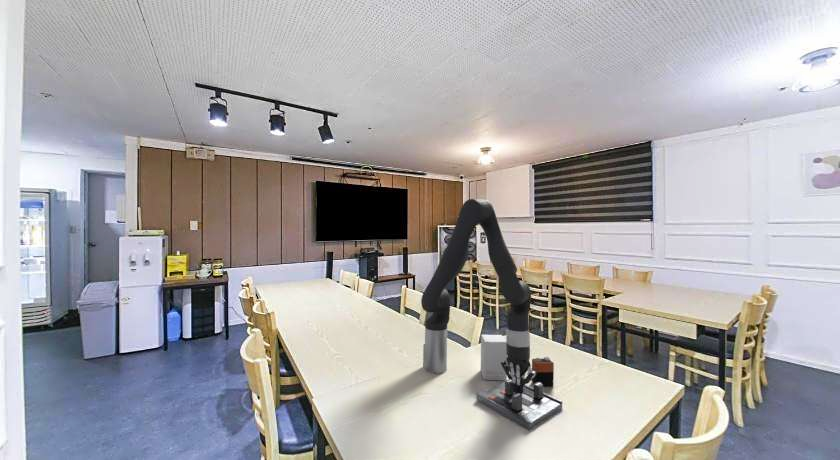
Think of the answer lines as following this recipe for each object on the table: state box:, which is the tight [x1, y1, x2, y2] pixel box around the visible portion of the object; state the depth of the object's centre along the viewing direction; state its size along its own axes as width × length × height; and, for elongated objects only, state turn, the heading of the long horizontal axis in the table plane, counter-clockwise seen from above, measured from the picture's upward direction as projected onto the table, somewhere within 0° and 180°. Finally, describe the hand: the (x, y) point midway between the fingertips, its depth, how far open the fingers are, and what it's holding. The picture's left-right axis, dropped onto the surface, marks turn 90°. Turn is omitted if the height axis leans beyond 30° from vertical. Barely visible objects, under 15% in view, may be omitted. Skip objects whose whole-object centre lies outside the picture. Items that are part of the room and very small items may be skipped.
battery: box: [531, 356, 555, 388], centre depth 120 cm, size 4×7×10 cm, turn 94°
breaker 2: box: [512, 393, 522, 411], centre depth 99 cm, size 2×2×4 cm
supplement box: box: [480, 334, 508, 381], centre depth 127 cm, size 9×9×15 cm
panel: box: [476, 379, 563, 432], centre depth 105 cm, size 20×19×3 cm
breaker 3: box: [533, 382, 544, 399], centre depth 106 cm, size 2×2×4 cm
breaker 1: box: [504, 378, 514, 395], centre depth 108 cm, size 2×2×4 cm
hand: (518, 394), depth 105 cm, fingers closed
